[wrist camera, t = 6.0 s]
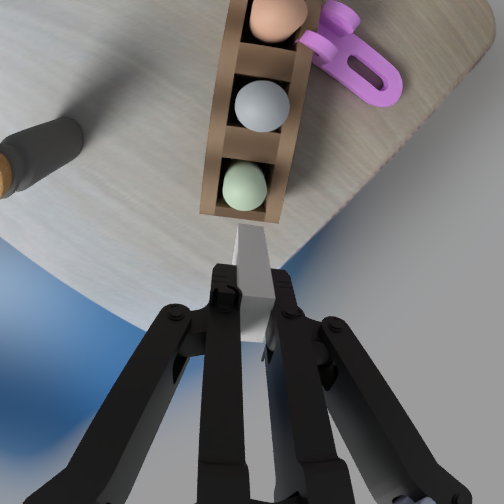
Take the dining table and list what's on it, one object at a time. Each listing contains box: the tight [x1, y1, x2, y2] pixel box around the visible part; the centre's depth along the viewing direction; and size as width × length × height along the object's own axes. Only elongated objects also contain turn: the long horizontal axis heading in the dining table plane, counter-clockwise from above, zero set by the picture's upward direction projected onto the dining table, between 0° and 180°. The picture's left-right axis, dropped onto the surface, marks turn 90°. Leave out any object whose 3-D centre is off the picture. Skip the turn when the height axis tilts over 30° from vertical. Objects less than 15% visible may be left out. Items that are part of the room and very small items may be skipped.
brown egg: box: [249, 0, 308, 44], centre depth 19 cm, size 4×4×6 cm
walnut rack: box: [199, 0, 323, 224], centre depth 27 cm, size 23×8×6 cm, turn 171°
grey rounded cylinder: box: [235, 80, 290, 132], centre depth 23 cm, size 4×4×6 cm
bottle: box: [0, 118, 83, 199], centre depth 24 cm, size 6×6×15 cm
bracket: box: [292, 0, 403, 107], centre depth 24 cm, size 13×6×7 cm, turn 58°
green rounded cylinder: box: [223, 158, 267, 211], centre depth 30 cm, size 4×4×6 cm
